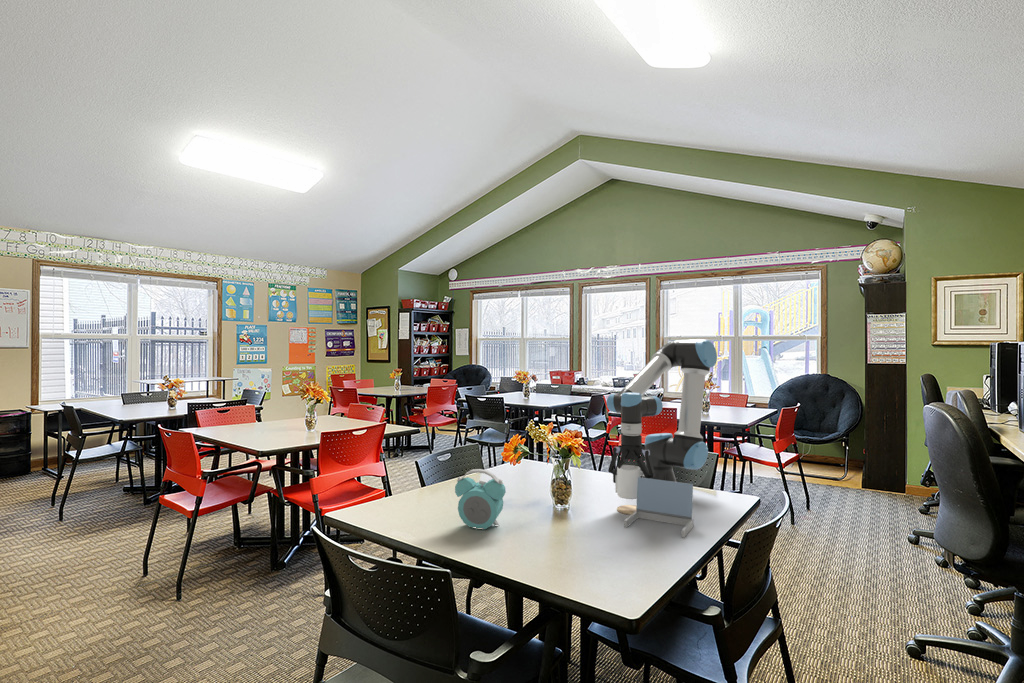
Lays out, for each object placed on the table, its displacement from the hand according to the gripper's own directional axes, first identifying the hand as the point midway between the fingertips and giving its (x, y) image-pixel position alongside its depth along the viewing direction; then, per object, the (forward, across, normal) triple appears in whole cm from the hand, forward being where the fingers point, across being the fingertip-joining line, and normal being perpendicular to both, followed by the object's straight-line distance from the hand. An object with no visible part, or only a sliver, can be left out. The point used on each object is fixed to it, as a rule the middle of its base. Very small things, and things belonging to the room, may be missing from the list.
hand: (631, 493), depth 204 cm
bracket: (+6, +14, -13) cm, 20 cm away
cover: (-2, +14, -7) cm, 16 cm away
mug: (+1, +1, 0) cm, 1 cm away
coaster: (+6, 0, 0) cm, 6 cm away
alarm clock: (+7, -38, -44) cm, 58 cm away
